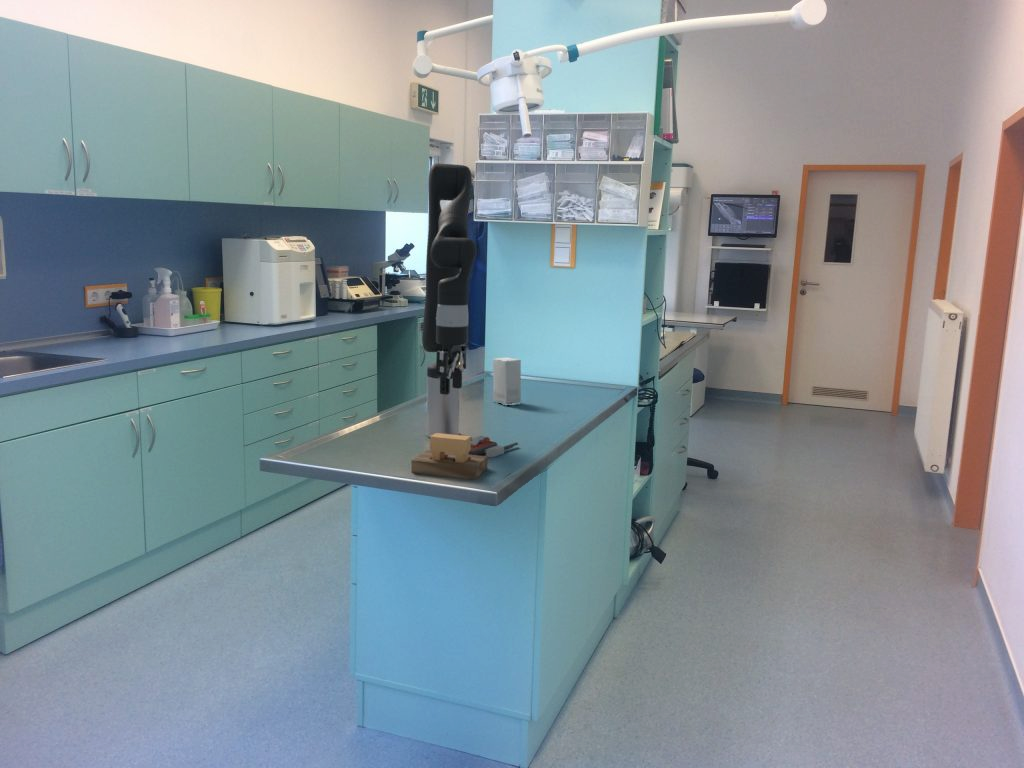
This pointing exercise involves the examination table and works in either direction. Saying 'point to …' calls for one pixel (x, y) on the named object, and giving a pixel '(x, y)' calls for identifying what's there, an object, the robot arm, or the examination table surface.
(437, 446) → the tan arch block
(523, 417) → the examination table surface
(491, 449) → the red grey pronged tool
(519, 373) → the skincare box
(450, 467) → the wooden socket block
